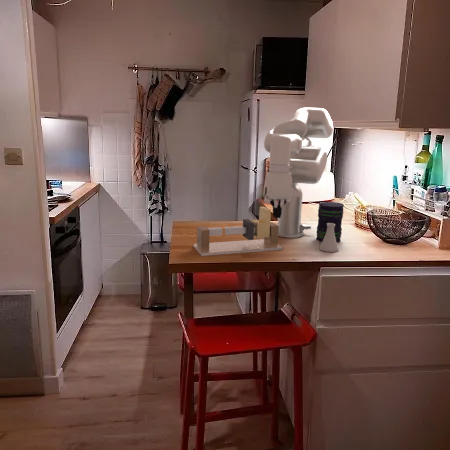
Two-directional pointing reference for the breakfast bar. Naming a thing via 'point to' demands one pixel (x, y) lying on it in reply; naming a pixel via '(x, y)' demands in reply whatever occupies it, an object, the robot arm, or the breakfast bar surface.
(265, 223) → the wooden block
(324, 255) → the breakfast bar surface
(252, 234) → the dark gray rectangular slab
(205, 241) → the pipe rig
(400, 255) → the breakfast bar surface
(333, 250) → the flask
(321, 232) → the storage jar
